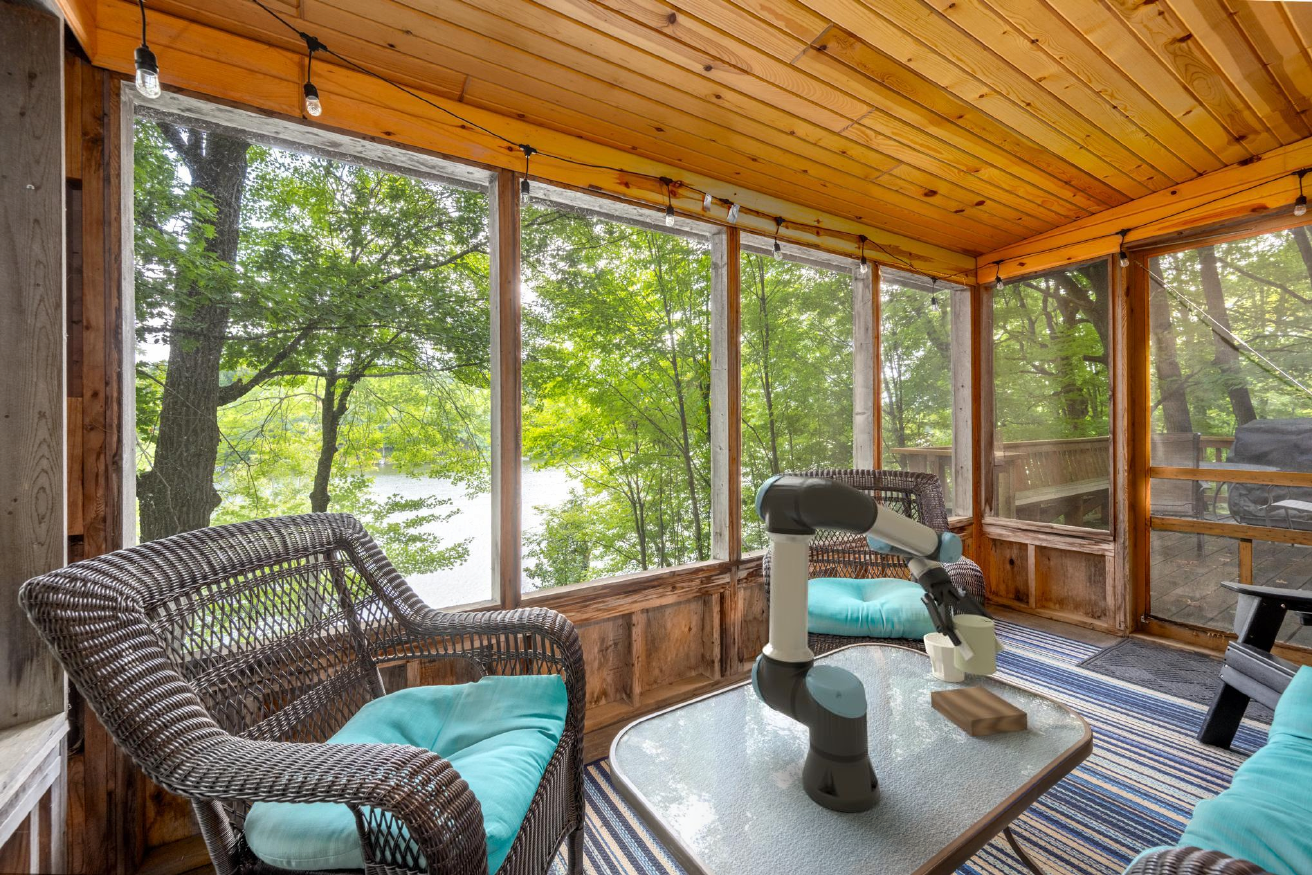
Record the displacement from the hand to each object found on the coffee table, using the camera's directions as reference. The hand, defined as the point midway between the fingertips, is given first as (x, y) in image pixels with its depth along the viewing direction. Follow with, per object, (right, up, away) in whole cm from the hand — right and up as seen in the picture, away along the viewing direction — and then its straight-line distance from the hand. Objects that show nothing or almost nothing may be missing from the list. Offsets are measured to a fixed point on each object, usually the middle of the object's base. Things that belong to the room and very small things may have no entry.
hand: (985, 654), depth 129 cm
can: (-1, -5, +3) cm, 5 cm away
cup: (+9, -20, +32) cm, 39 cm away
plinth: (+3, -20, +8) cm, 21 cm away
